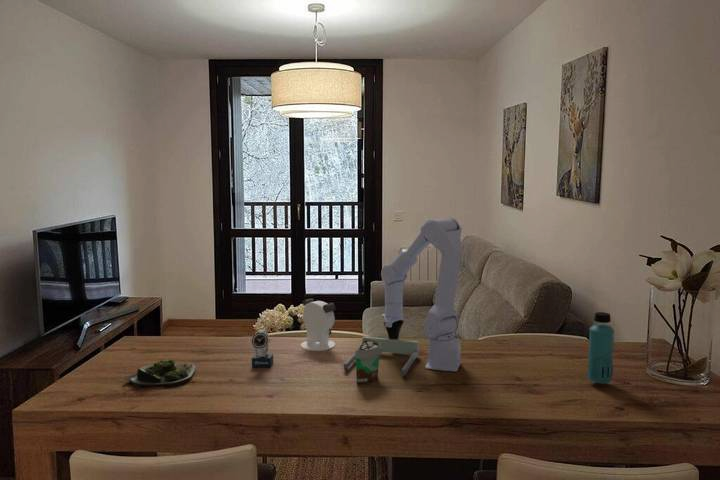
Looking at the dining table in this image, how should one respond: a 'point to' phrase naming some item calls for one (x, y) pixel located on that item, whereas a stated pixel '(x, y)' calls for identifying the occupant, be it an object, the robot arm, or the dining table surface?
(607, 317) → the beverage bottle
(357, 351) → the food container
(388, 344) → the grey u-shaped frame
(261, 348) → the watch
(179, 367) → the salad plate
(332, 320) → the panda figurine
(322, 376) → the dining table surface
